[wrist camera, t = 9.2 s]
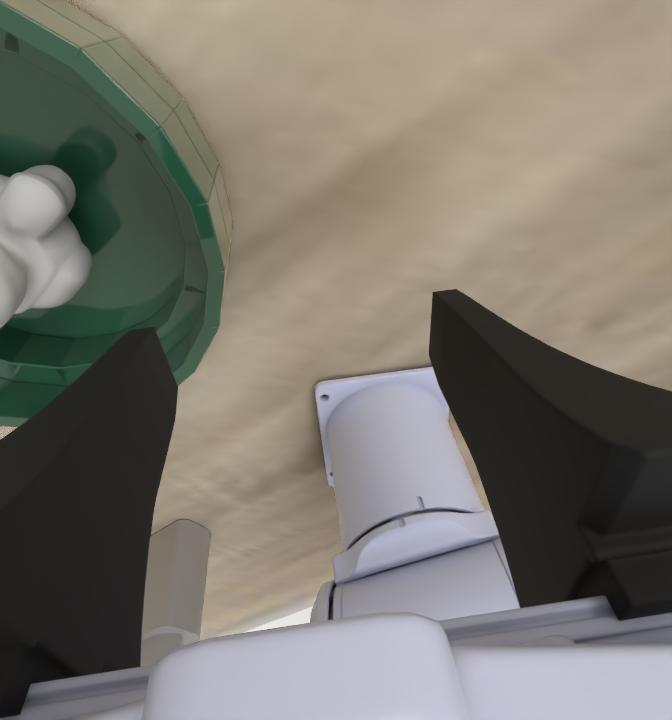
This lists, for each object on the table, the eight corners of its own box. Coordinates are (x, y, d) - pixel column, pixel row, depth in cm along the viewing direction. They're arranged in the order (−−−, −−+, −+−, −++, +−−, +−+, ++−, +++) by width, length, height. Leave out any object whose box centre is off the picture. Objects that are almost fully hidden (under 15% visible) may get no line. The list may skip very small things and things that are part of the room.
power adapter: (215, 533, 34) (195, 733, 25) (165, 561, 36) (129, 759, 27) (183, 516, 33) (149, 725, 23) (132, 547, 34) (81, 753, 25)
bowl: (260, 336, 24) (258, 403, 20) (-40, 374, 23) (-102, 450, 19) (173, -57, 14) (137, -76, 10) (-339, -10, 14) (-581, -12, 10)
